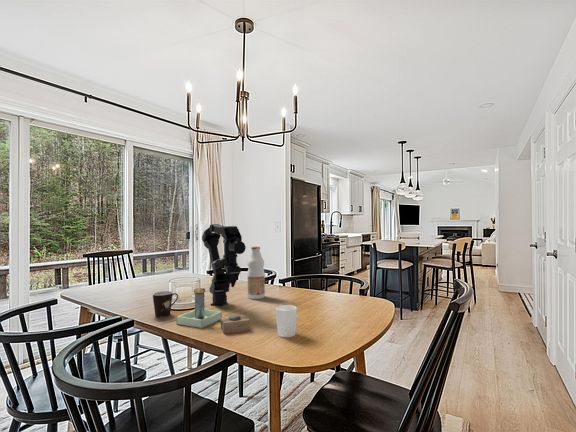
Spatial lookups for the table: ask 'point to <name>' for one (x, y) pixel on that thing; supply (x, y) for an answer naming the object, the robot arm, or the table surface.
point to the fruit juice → (256, 275)
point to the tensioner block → (234, 324)
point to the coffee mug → (163, 303)
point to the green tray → (191, 321)
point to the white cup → (286, 320)
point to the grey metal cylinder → (199, 303)
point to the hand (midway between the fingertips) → (230, 285)
